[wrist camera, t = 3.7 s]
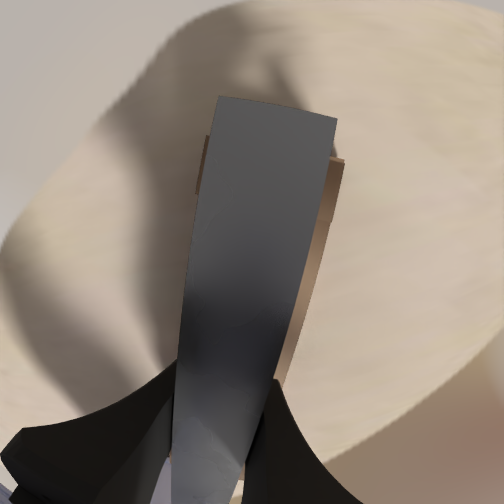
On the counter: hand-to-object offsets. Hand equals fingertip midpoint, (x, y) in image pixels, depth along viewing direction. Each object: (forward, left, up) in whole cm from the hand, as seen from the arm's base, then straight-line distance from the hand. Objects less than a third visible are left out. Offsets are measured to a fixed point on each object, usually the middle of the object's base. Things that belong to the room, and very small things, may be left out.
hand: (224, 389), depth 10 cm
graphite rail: (0, 0, 0) cm, 0 cm away
